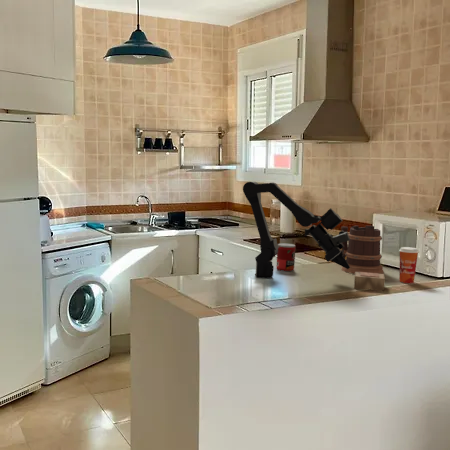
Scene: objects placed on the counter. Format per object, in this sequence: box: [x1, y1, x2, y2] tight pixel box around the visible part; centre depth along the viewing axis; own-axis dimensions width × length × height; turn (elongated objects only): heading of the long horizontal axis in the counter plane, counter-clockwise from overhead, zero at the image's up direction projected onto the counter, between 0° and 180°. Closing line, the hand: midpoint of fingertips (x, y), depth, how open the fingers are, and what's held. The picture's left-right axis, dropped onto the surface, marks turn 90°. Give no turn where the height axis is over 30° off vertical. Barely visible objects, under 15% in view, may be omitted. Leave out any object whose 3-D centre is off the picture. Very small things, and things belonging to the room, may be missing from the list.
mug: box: [340, 225, 385, 275], centre depth 262 cm, size 18×23×20 cm
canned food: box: [275, 242, 296, 272], centre depth 256 cm, size 8×8×11 cm
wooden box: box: [353, 272, 386, 292], centre depth 226 cm, size 5×10×11 cm
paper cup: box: [398, 246, 420, 284], centre depth 239 cm, size 8×8×14 cm
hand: (348, 268), depth 228 cm, fingers closed
